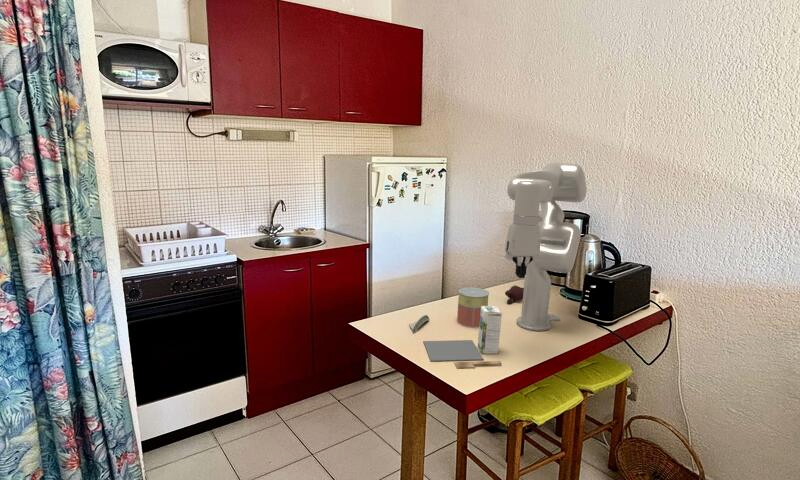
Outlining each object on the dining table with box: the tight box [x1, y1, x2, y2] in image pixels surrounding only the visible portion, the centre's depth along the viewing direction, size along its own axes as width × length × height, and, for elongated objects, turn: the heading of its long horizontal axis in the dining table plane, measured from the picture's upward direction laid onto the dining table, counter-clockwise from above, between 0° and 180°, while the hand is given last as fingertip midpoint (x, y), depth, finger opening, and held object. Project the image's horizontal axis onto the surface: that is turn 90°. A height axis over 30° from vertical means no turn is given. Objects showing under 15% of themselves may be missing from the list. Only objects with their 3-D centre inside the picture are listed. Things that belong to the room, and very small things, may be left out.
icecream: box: [504, 285, 524, 305], centre depth 198 cm, size 7×7×15 cm
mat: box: [423, 339, 485, 363], centre depth 149 cm, size 17×14×1 cm
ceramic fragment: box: [408, 314, 430, 334], centre depth 168 cm, size 14×5×4 cm, turn 152°
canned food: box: [456, 286, 490, 329], centre depth 172 cm, size 11×11×12 cm
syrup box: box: [477, 305, 503, 355], centre depth 149 cm, size 6×6×14 cm
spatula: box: [453, 360, 503, 370], centre depth 140 cm, size 14×4×1 cm, turn 96°
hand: (520, 276), depth 146 cm, fingers closed
